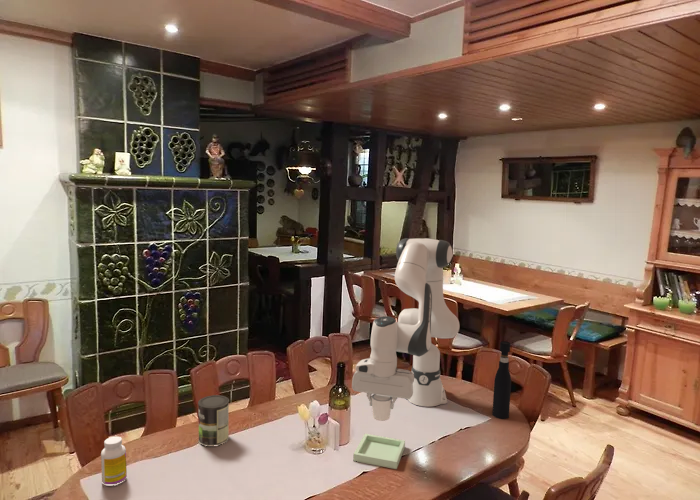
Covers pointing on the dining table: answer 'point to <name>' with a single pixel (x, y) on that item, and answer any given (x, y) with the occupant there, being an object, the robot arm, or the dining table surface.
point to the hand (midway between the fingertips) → (381, 406)
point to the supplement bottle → (113, 461)
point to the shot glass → (381, 407)
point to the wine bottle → (502, 384)
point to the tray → (379, 451)
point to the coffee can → (213, 420)
